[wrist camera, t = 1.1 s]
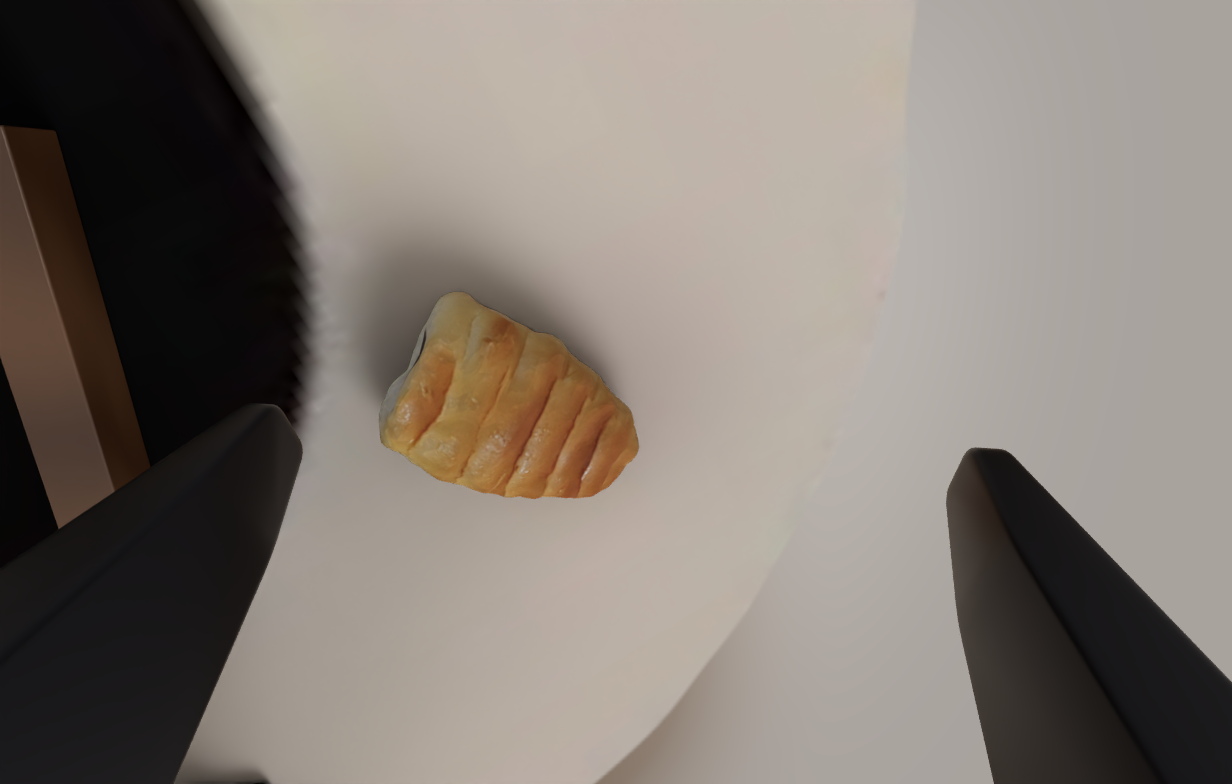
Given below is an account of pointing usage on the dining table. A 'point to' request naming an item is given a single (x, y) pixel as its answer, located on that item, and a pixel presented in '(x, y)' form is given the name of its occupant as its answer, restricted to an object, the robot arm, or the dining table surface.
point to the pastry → (505, 409)
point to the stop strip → (60, 333)
